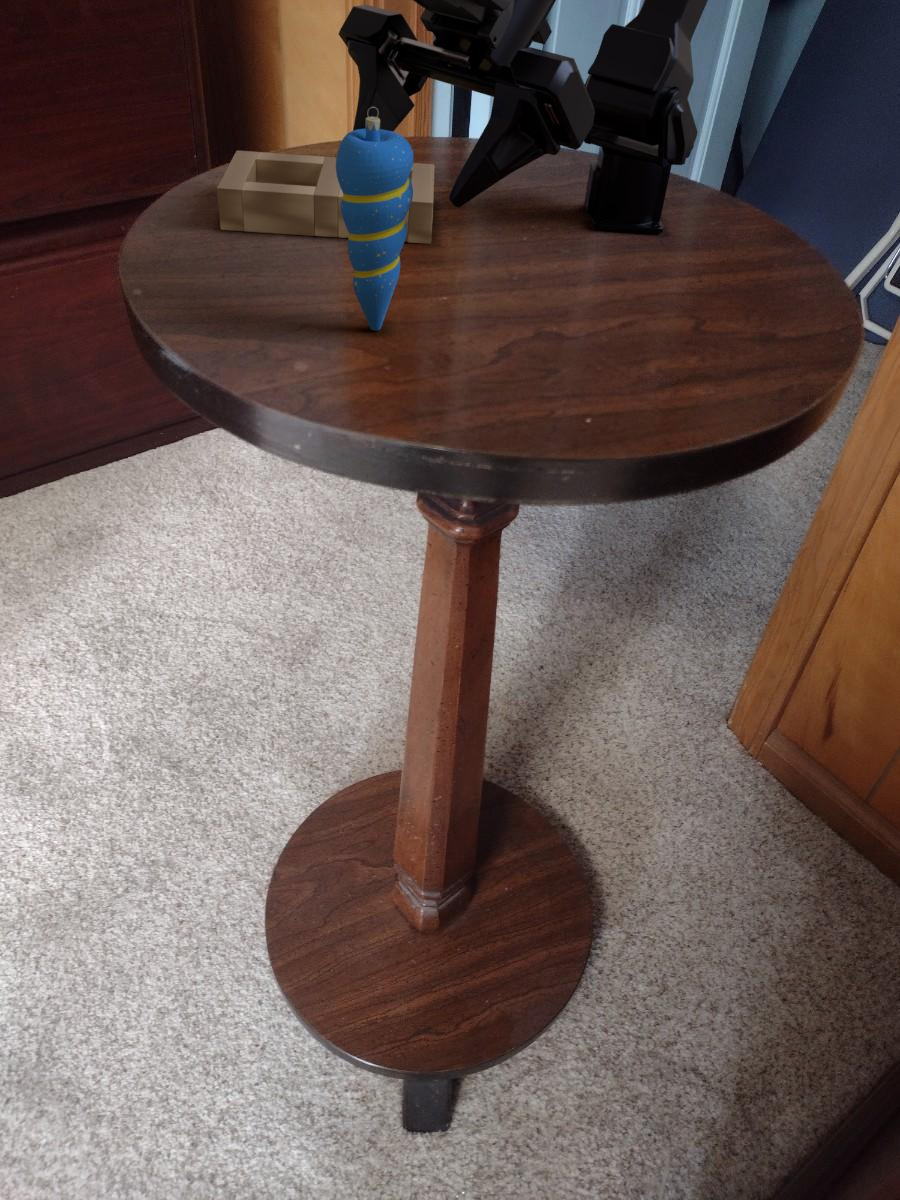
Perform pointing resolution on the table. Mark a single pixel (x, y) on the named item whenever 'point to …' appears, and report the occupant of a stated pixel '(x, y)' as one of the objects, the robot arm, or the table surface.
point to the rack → (304, 196)
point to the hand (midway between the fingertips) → (401, 184)
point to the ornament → (375, 211)
